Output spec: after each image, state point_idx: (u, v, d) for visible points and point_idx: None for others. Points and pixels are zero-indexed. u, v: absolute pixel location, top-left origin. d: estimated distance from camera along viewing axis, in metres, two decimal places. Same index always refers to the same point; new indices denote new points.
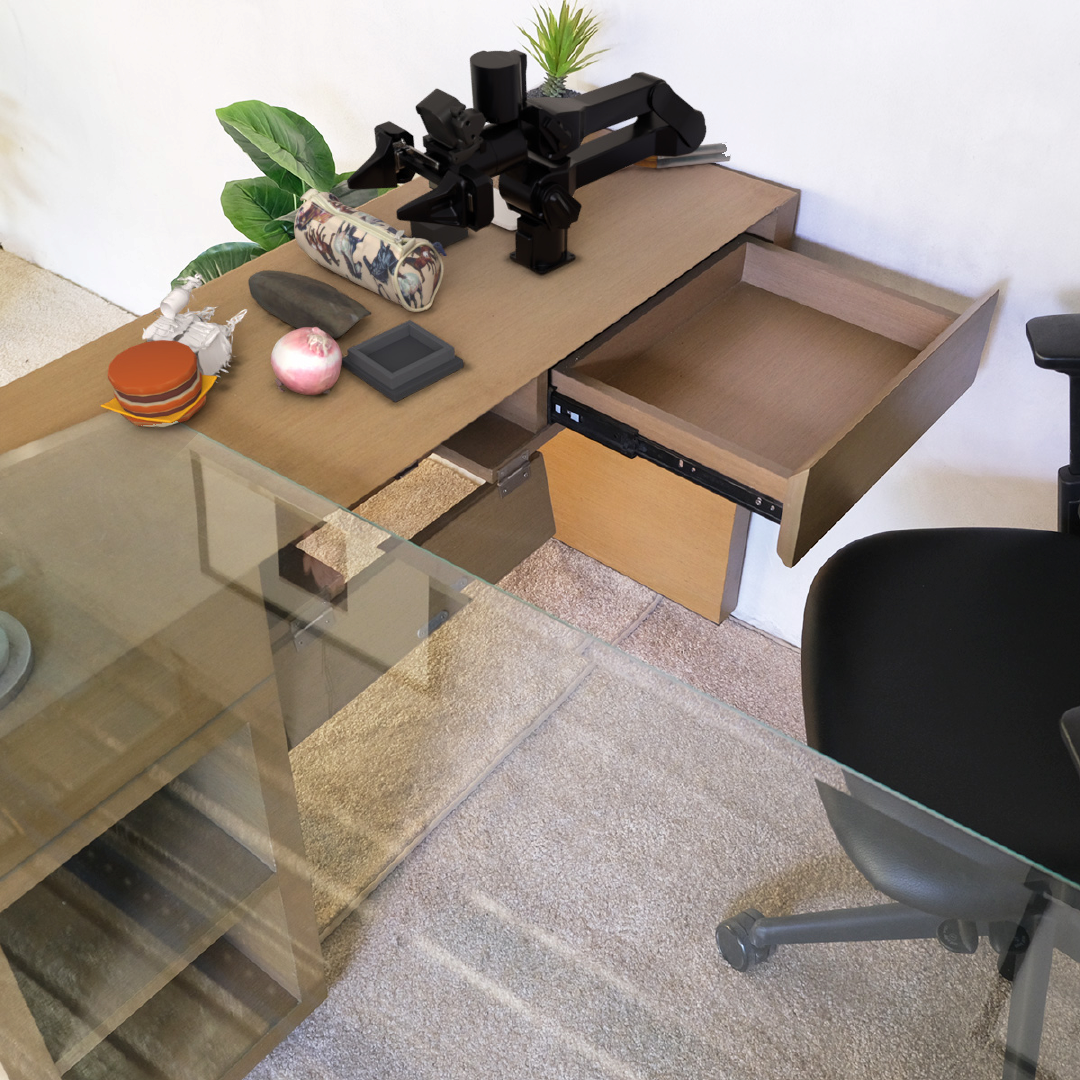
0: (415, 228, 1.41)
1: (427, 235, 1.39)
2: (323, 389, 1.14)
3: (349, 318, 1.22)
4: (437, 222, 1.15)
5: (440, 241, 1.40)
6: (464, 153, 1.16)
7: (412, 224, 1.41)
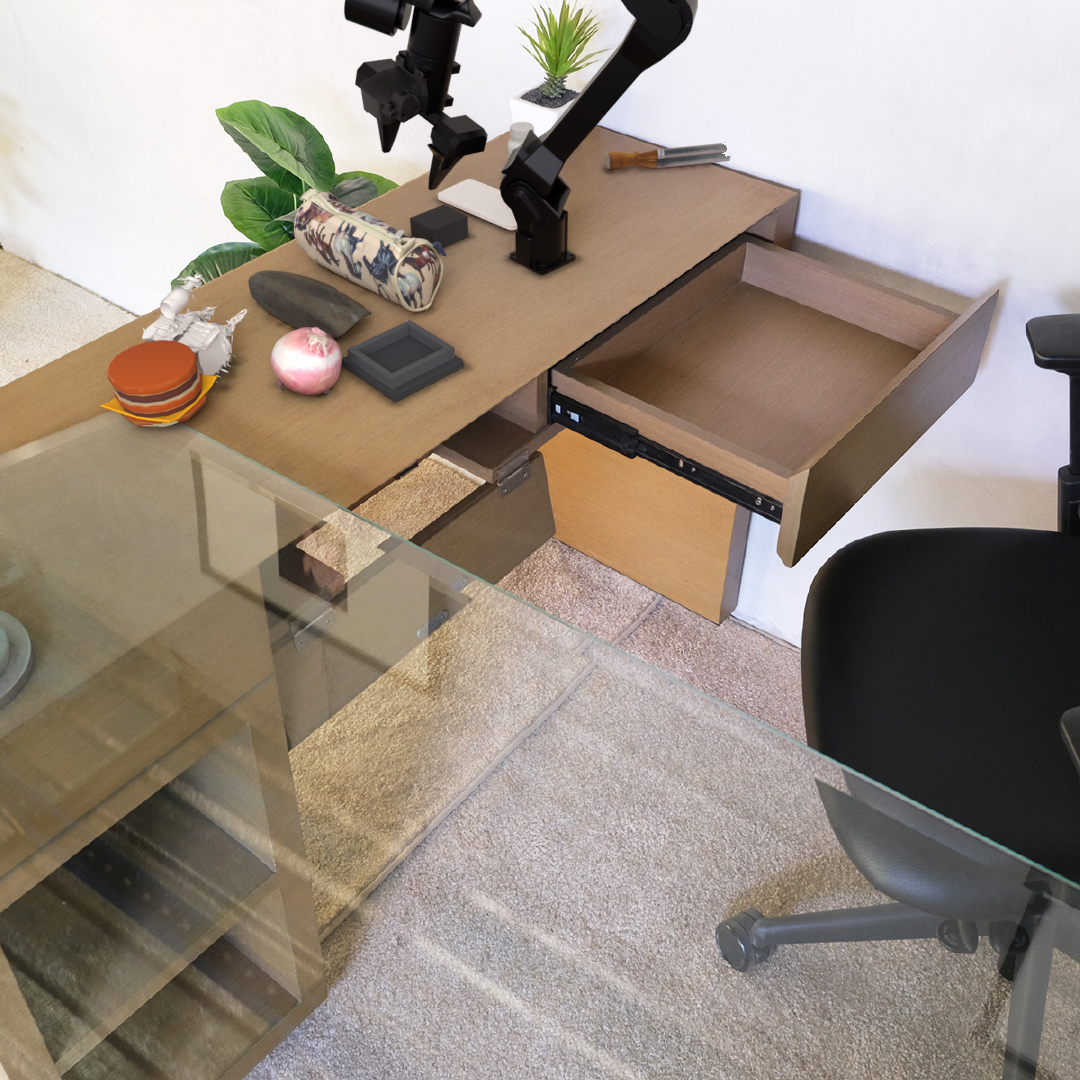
0: (415, 228, 1.41)
1: (427, 235, 1.39)
2: (323, 389, 1.14)
3: (349, 318, 1.22)
4: (456, 162, 1.30)
5: (440, 241, 1.40)
6: (422, 102, 1.23)
7: (412, 224, 1.41)
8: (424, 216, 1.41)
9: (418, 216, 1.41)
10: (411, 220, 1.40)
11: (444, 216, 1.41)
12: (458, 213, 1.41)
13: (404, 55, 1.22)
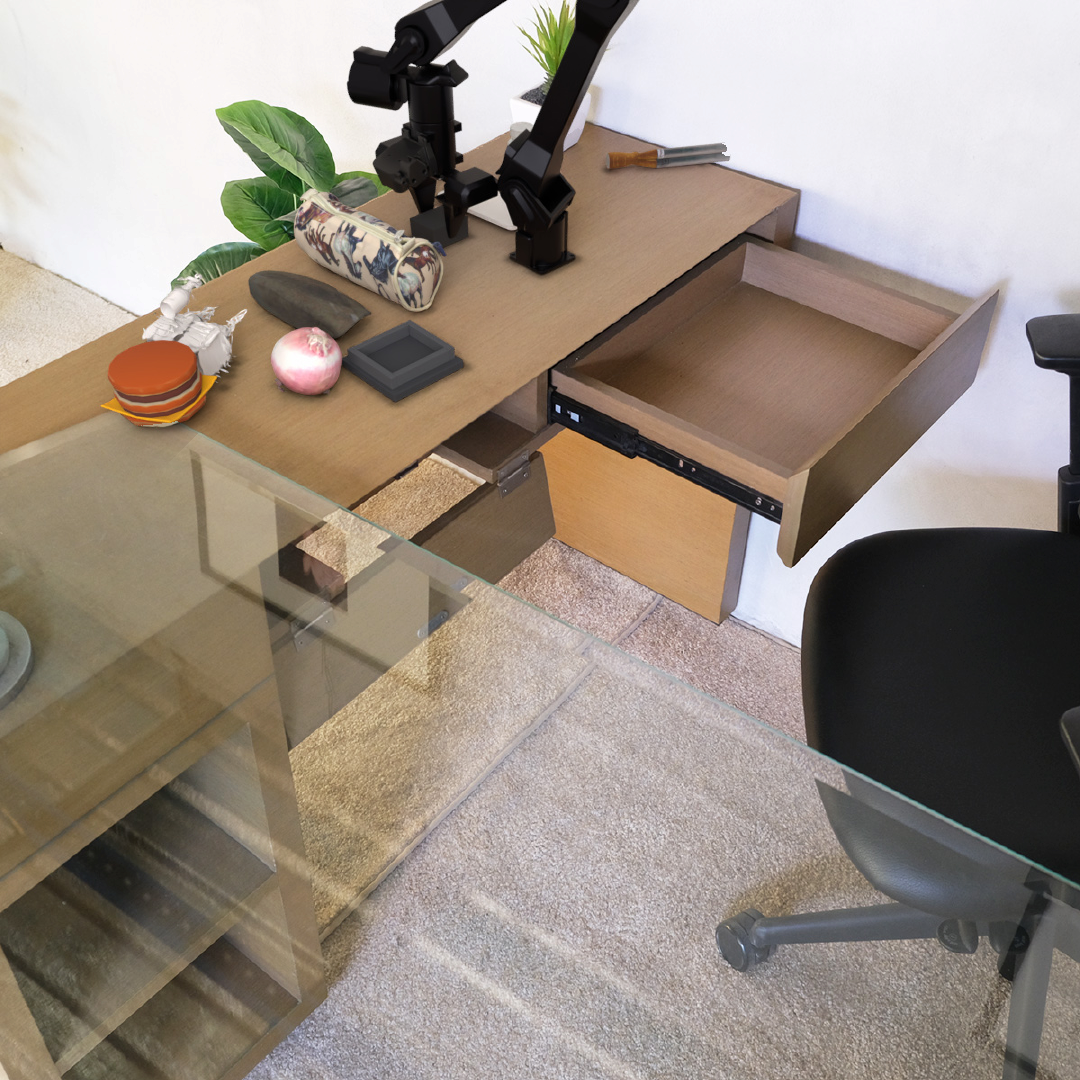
0: (415, 228, 1.41)
1: (427, 236, 1.39)
2: (323, 389, 1.14)
3: (349, 318, 1.22)
4: (468, 207, 1.38)
5: (440, 241, 1.40)
6: (431, 165, 1.31)
7: (412, 225, 1.41)
8: (424, 216, 1.41)
9: (419, 216, 1.41)
10: (411, 220, 1.40)
11: (444, 216, 1.41)
12: None
13: (407, 126, 1.31)
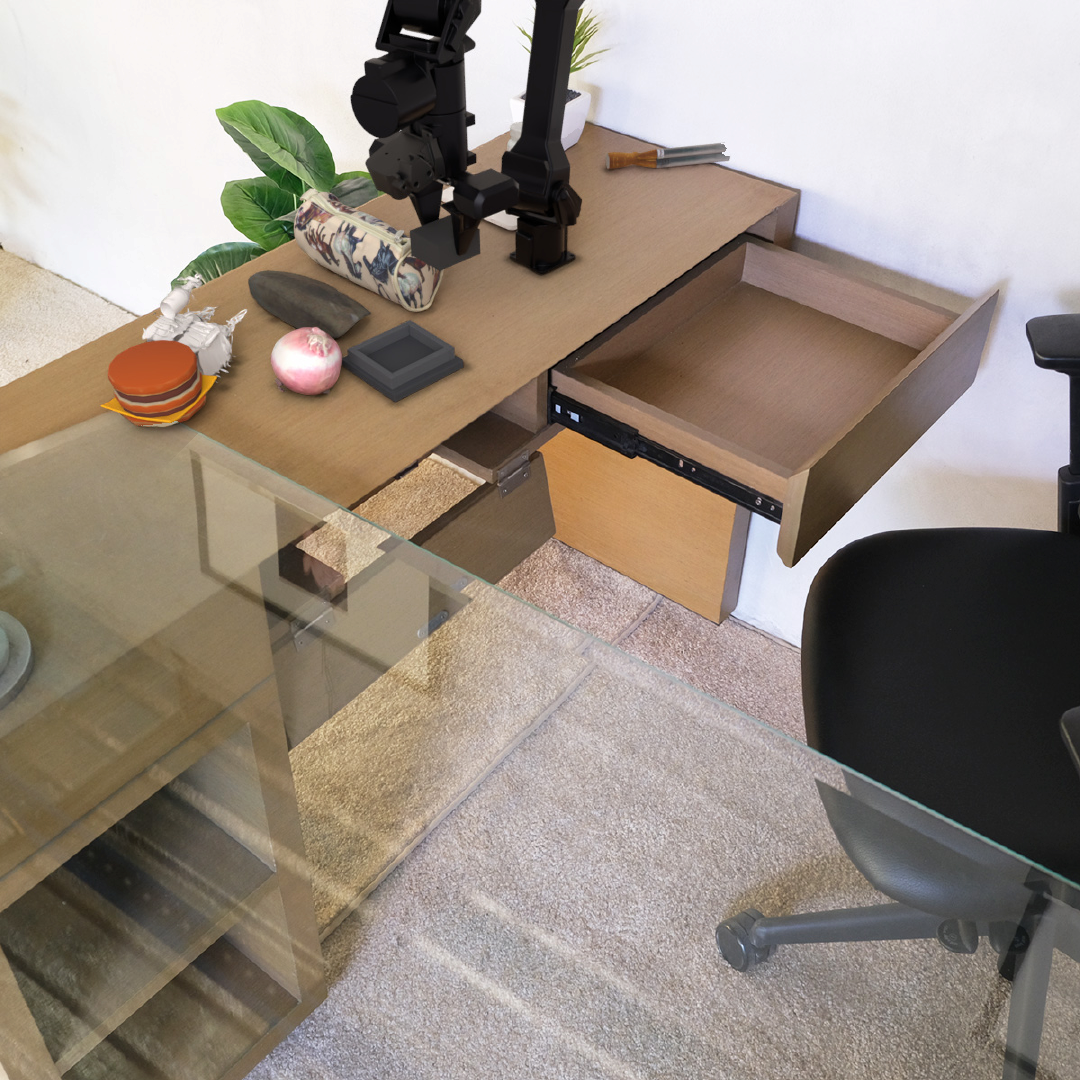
0: (416, 243, 1.16)
1: (430, 252, 1.15)
2: (323, 389, 1.14)
3: (349, 318, 1.22)
4: (481, 218, 1.13)
5: (446, 259, 1.15)
6: (438, 166, 1.07)
7: (413, 239, 1.16)
8: (427, 228, 1.16)
9: (420, 228, 1.16)
10: (411, 233, 1.16)
11: (451, 229, 1.16)
12: None
13: None
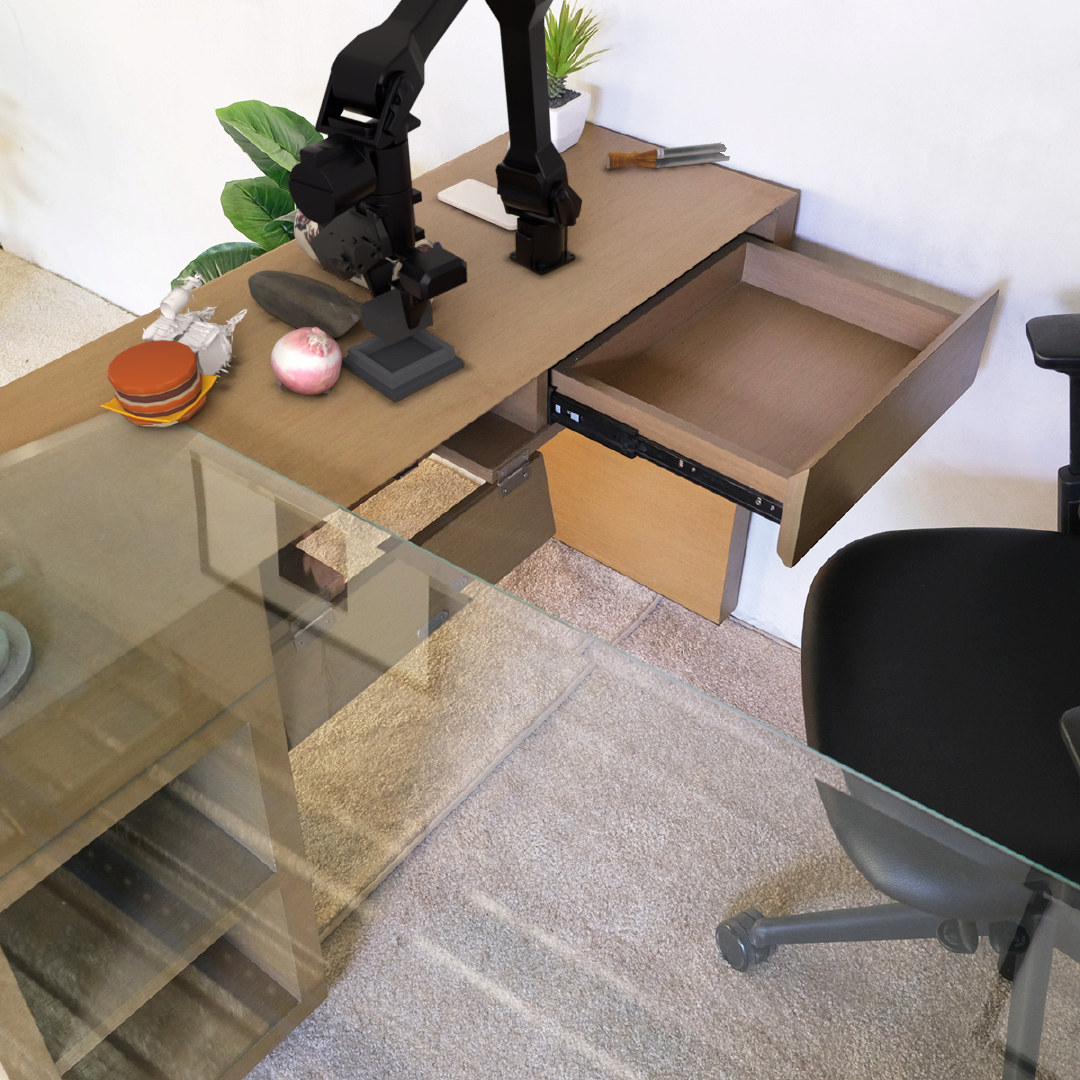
0: (367, 317, 1.14)
1: (381, 326, 1.13)
2: (323, 389, 1.14)
3: (349, 318, 1.22)
4: None
5: (397, 333, 1.13)
6: (384, 245, 1.05)
7: (364, 312, 1.14)
8: (378, 301, 1.14)
9: (371, 301, 1.14)
10: (362, 307, 1.14)
11: None
12: None
13: None
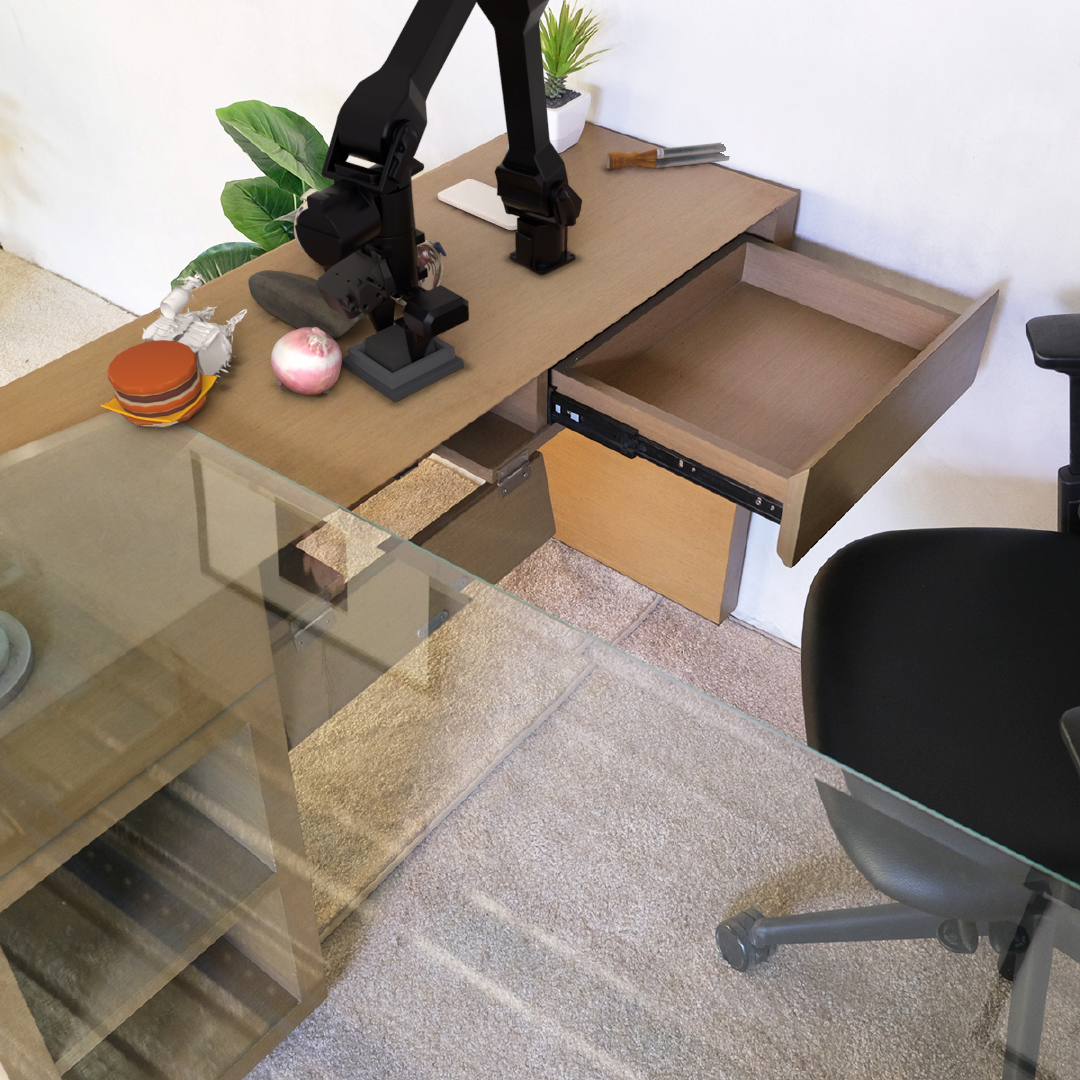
0: (371, 350, 1.17)
1: (385, 360, 1.16)
2: (323, 389, 1.14)
3: None
4: None
5: (401, 367, 1.16)
6: (388, 285, 1.08)
7: (368, 346, 1.17)
8: (382, 336, 1.17)
9: (375, 335, 1.17)
10: (366, 341, 1.17)
11: None
12: None
13: None
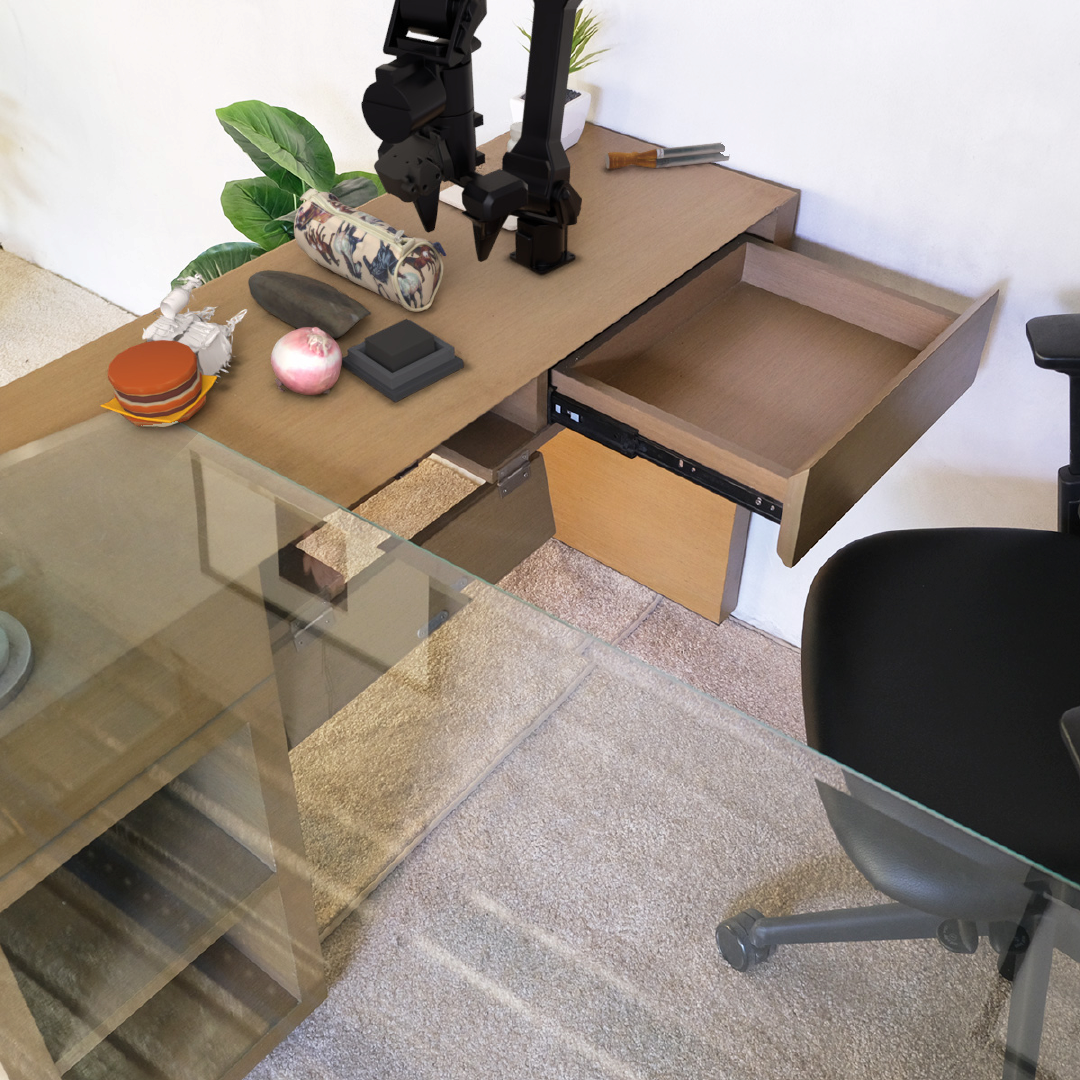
0: (371, 350, 1.17)
1: (385, 360, 1.16)
2: (323, 389, 1.14)
3: (349, 318, 1.22)
4: (502, 224, 1.12)
5: (401, 367, 1.16)
6: (446, 167, 1.07)
7: (368, 346, 1.17)
8: (382, 336, 1.17)
9: (375, 335, 1.17)
10: (366, 341, 1.17)
11: (406, 336, 1.17)
12: (423, 331, 1.18)
13: None
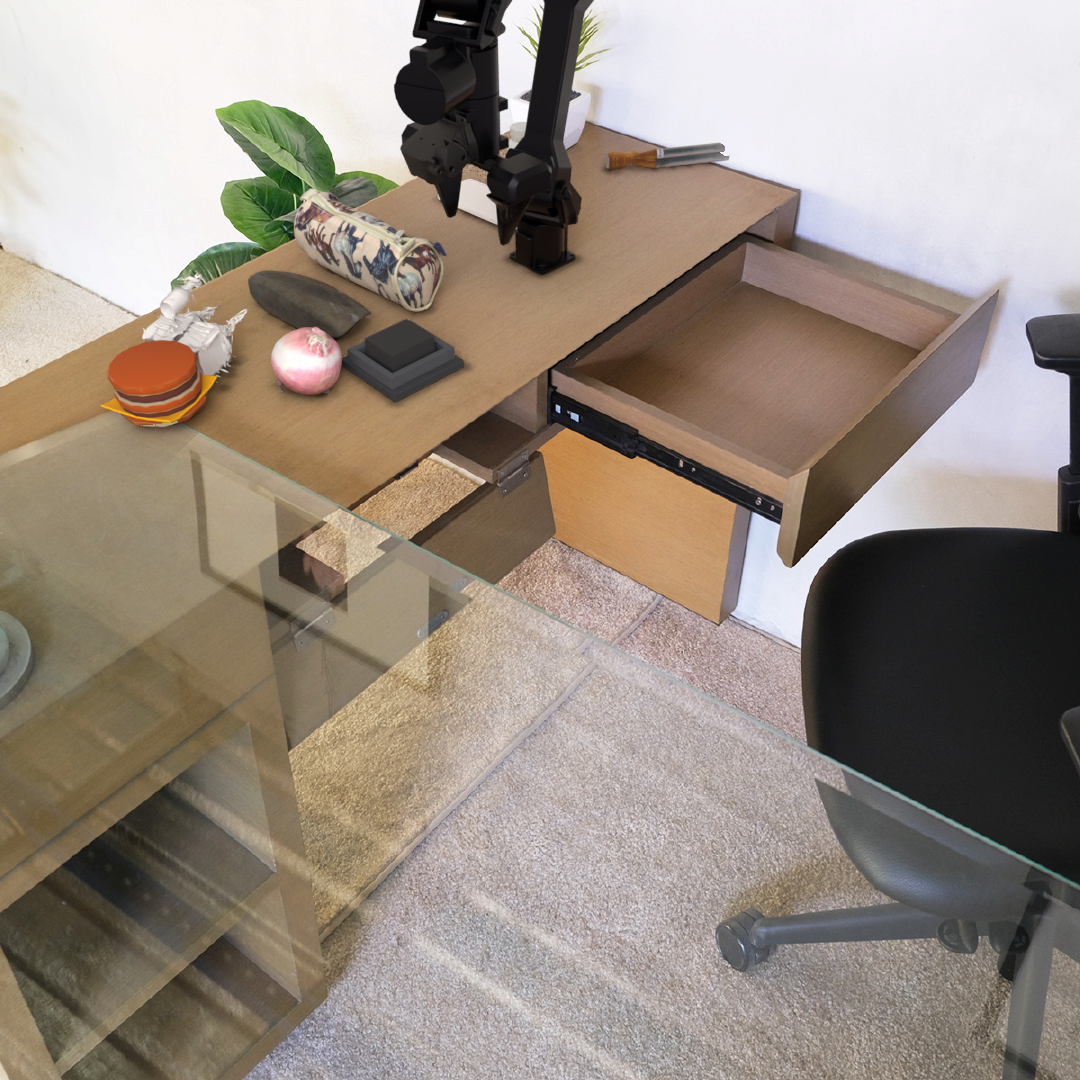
0: (371, 350, 1.17)
1: (385, 360, 1.16)
2: (323, 389, 1.14)
3: (349, 318, 1.22)
4: (525, 208, 1.14)
5: (401, 367, 1.16)
6: (472, 150, 1.08)
7: (368, 346, 1.17)
8: (382, 336, 1.17)
9: (375, 335, 1.17)
10: (366, 341, 1.17)
11: (406, 336, 1.17)
12: (423, 331, 1.18)
13: None
